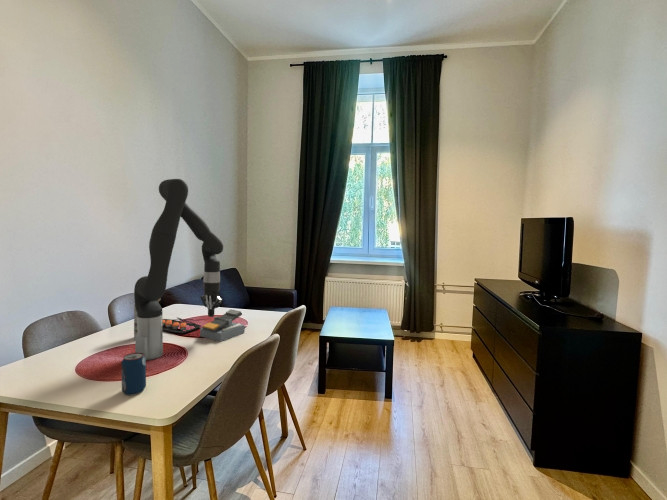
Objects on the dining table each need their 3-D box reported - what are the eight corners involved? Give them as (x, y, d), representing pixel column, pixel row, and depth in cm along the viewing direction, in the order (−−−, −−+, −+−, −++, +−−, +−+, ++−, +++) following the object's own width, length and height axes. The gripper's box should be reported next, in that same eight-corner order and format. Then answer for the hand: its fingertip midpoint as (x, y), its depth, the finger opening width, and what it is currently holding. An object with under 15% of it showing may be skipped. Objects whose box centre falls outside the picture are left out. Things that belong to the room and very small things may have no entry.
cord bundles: (224, 331, 164) (224, 329, 164) (205, 327, 170) (205, 324, 170) (241, 325, 174) (241, 323, 174) (222, 321, 180) (222, 319, 180)
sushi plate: (140, 328, 180) (140, 321, 180) (185, 315, 207) (185, 308, 207) (182, 336, 169) (182, 329, 169) (223, 321, 196) (223, 315, 196)
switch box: (220, 341, 162) (220, 324, 161) (200, 336, 169) (200, 319, 168) (244, 332, 176) (244, 317, 175) (224, 328, 183) (224, 313, 182)
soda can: (150, 386, 117) (150, 352, 116) (137, 396, 110) (137, 360, 109) (130, 385, 117) (130, 351, 116) (116, 395, 110) (116, 359, 109)
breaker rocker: (214, 333, 162) (213, 328, 162) (202, 330, 166) (202, 325, 165) (242, 315, 178) (241, 311, 177) (231, 312, 182) (230, 309, 181)
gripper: (195, 280, 164) (195, 316, 165) (215, 283, 157) (214, 320, 158) (208, 278, 170) (207, 312, 171) (227, 281, 164) (226, 317, 165)
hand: (211, 316), depth 165 cm, fingers closed
